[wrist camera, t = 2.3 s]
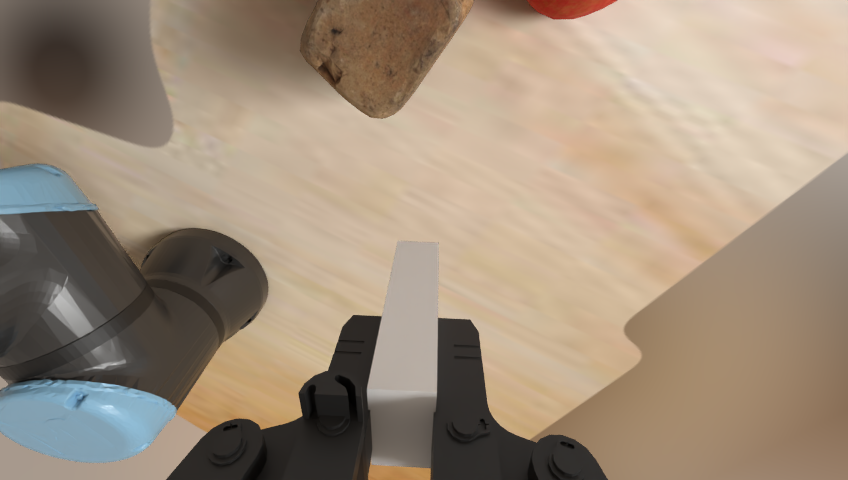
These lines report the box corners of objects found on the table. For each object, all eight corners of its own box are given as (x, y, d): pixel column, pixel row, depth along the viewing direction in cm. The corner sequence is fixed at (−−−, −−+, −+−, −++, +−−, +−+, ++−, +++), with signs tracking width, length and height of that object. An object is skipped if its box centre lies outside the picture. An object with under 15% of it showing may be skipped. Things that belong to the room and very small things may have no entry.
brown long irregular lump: (406, 94, 40) (383, 144, 22) (345, 43, 38) (267, 53, 20) (477, -1, 35) (519, -35, 18) (414, -65, 33) (391, -174, 16)
